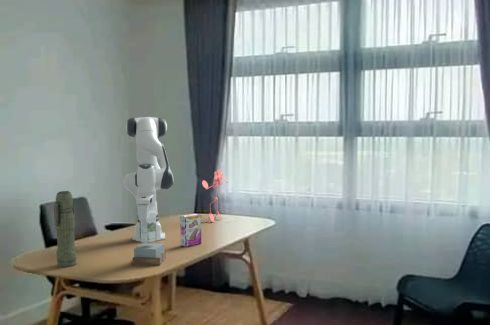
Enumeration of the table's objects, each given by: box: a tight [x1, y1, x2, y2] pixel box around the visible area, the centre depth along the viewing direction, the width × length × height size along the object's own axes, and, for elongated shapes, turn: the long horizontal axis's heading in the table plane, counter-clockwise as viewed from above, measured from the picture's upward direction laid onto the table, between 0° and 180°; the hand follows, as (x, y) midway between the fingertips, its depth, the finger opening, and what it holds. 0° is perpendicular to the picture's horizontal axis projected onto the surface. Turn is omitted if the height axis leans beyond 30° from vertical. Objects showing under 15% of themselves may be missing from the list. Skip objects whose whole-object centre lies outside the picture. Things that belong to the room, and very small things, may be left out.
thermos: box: [53, 190, 78, 268], centre depth 260 cm, size 9×12×35 cm
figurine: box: [201, 168, 229, 224], centre depth 365 cm, size 15×26×35 cm, turn 152°
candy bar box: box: [179, 213, 202, 248], centre depth 298 cm, size 11×5×16 cm, turn 135°
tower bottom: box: [132, 250, 167, 266], centre depth 264 cm, size 13×13×4 cm
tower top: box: [133, 242, 165, 258], centre depth 264 cm, size 11×11×4 cm
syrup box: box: [139, 211, 157, 244], centre depth 264 cm, size 6×6×14 cm
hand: (147, 226), depth 264 cm, fingers closed on syrup box, 7 cm apart
